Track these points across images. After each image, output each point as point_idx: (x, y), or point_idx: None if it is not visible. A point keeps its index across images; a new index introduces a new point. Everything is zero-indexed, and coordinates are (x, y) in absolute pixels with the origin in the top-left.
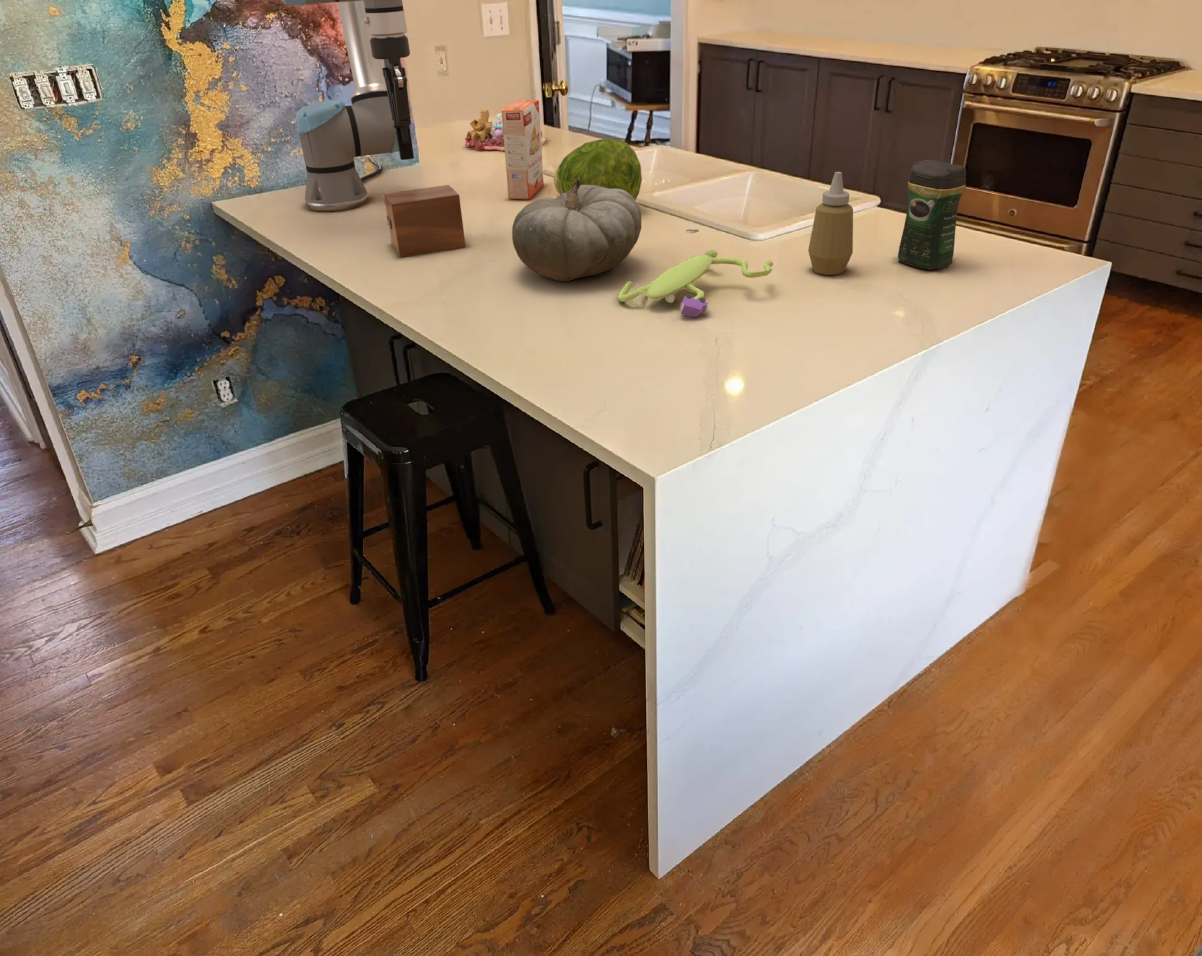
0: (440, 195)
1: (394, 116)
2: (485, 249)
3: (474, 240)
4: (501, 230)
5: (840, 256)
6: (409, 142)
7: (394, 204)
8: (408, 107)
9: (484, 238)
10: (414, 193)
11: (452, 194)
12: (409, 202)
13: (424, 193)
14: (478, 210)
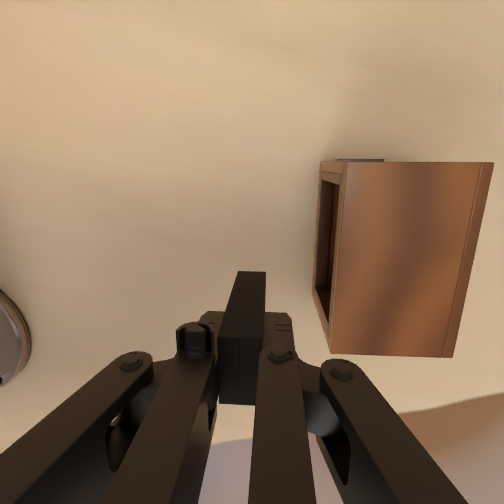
0: (461, 220)
1: (208, 448)
2: (459, 124)
3: (379, 130)
4: (342, 41)
5: None
6: (287, 314)
7: (453, 349)
8: (441, 475)
9: (379, 102)
10: (383, 282)
11: (477, 182)
12: (460, 312)
13: (403, 257)
14: (140, 49)
